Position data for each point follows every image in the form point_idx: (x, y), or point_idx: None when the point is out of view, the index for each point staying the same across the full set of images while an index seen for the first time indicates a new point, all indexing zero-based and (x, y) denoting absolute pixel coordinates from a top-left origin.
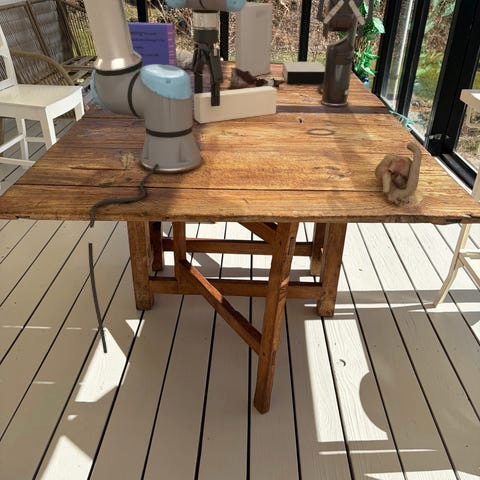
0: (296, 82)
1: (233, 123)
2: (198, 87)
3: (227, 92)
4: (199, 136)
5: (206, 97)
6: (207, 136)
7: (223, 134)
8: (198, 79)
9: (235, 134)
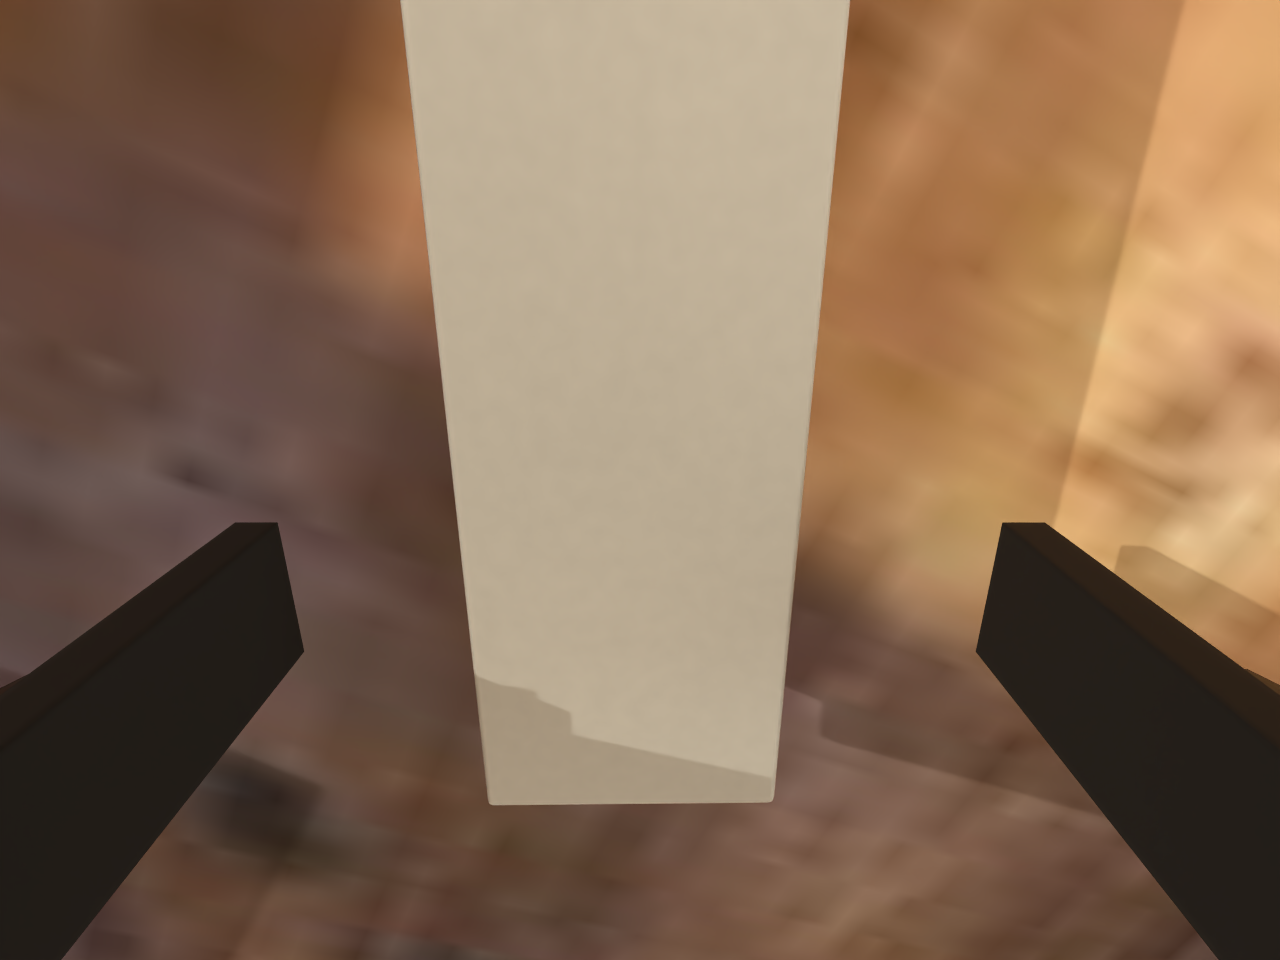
0: None
1: (905, 214)
2: (203, 697)
3: (618, 127)
4: None
5: (780, 695)
6: None
7: (1169, 499)
8: (62, 839)
9: (1261, 383)
